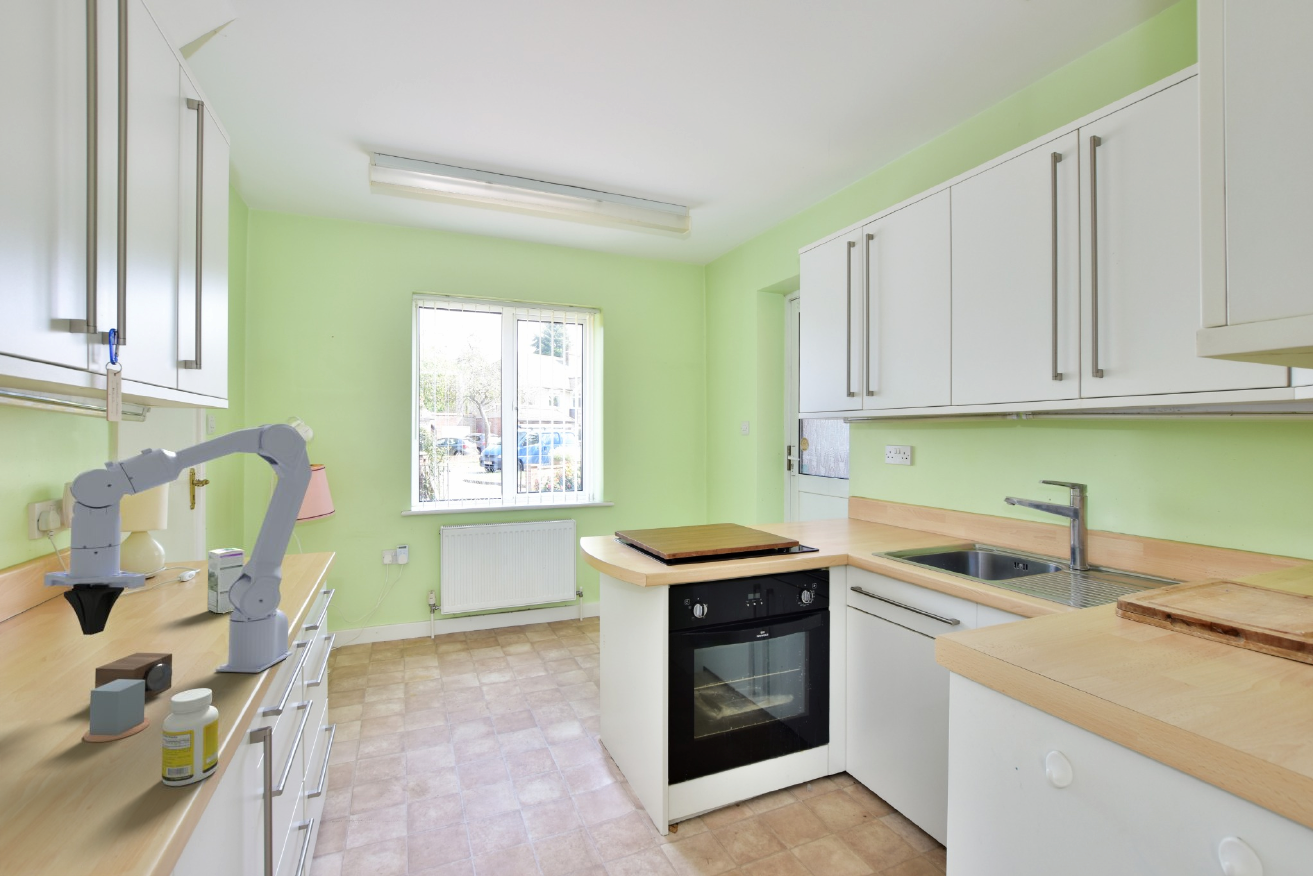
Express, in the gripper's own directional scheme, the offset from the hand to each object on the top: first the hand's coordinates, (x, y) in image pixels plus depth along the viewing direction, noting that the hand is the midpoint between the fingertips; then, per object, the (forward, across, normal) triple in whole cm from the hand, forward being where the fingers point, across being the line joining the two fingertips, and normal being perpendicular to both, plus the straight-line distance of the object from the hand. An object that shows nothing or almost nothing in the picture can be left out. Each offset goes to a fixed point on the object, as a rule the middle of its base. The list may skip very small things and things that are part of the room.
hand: (93, 632), depth 93 cm
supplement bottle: (+11, +32, -19) cm, 39 cm away
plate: (+10, +13, -9) cm, 19 cm away
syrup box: (+11, -17, +49) cm, 53 cm away
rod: (+9, +5, +2) cm, 11 cm away
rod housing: (+10, +5, +2) cm, 12 cm away
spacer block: (+10, +13, -9) cm, 19 cm away
